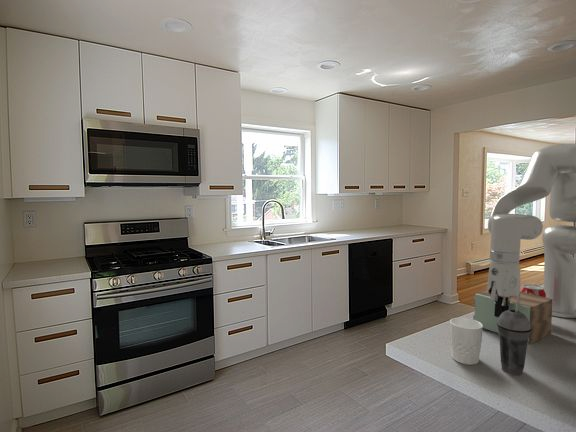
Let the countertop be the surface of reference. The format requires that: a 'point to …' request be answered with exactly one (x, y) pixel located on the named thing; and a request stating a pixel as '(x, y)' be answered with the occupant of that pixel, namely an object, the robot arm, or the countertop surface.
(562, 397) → the countertop surface
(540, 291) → the soda can
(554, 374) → the countertop surface
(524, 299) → the wooden storage crate
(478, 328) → the white cup
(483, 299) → the door
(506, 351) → the beverage cup
